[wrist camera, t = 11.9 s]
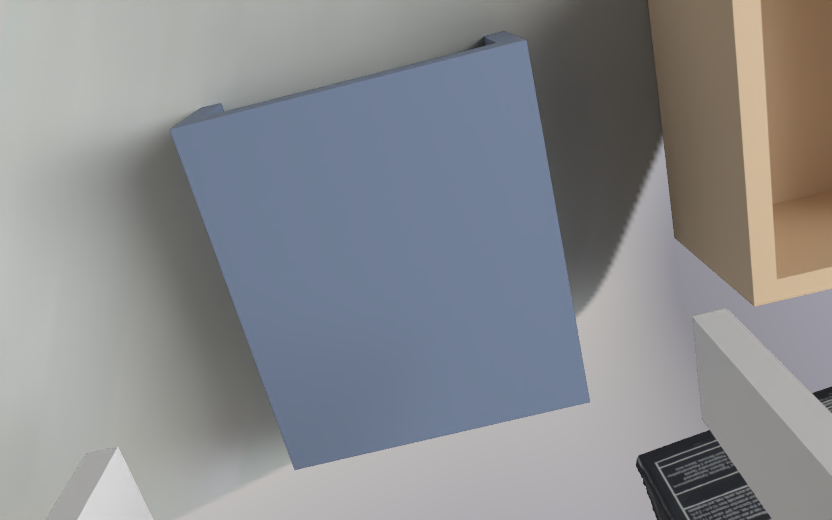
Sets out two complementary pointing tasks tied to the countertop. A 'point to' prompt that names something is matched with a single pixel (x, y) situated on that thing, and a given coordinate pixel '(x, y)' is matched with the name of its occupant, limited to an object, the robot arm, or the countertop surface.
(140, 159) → the countertop surface
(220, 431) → the countertop surface
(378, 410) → the lid
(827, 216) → the tray
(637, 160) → the countertop surface
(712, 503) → the small box
